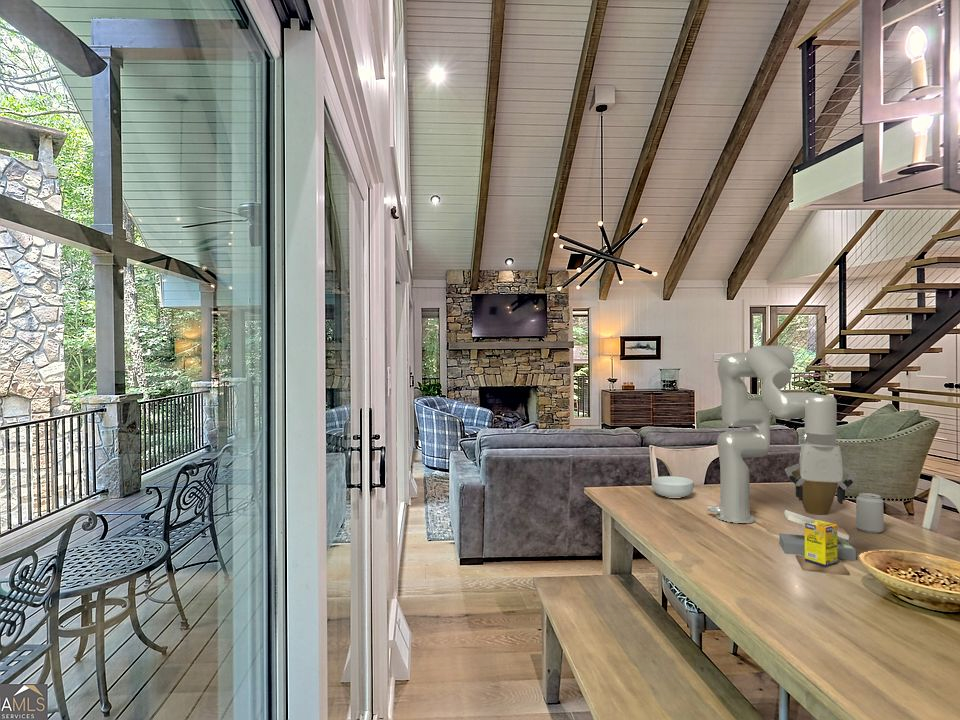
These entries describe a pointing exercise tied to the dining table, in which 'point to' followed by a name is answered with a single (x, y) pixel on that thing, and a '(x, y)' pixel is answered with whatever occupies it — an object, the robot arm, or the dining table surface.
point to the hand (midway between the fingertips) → (819, 501)
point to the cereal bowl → (672, 486)
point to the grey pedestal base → (797, 546)
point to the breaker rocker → (803, 519)
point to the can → (869, 513)
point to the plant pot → (817, 496)
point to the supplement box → (821, 543)
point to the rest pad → (834, 568)
